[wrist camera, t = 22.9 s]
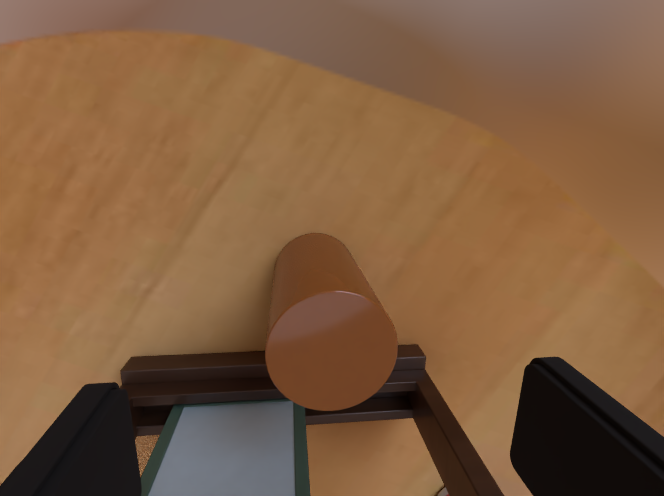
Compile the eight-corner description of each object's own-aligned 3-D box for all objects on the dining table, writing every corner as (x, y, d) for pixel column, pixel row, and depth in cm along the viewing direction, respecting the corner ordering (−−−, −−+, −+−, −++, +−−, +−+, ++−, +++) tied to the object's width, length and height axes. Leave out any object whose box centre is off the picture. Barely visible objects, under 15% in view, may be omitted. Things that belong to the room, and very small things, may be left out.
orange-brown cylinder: (273, 233, 21) (262, 292, 12) (355, 232, 21) (402, 289, 13) (275, 310, 22) (266, 415, 13) (353, 308, 22) (394, 407, 14)
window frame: (131, 356, 22) (-87, 641, 9) (417, 343, 23) (566, 564, 11) (138, 416, 23) (-49, 747, 10) (413, 399, 24) (544, 660, 12)
